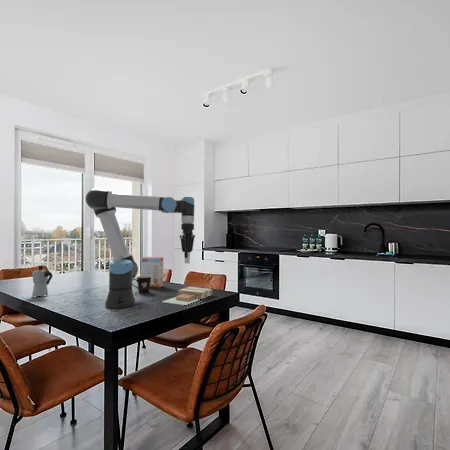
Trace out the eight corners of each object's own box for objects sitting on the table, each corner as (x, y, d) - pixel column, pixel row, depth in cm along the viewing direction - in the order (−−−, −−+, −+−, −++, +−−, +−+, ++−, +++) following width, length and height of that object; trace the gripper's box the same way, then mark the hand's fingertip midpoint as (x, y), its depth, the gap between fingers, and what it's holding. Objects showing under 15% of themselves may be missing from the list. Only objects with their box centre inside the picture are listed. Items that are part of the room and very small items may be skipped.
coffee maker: (25, 296, 177) (25, 265, 177) (38, 293, 185) (39, 264, 186) (44, 298, 173) (45, 267, 173) (57, 295, 181) (58, 265, 181)
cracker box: (163, 286, 214) (163, 257, 214) (159, 287, 208) (159, 257, 209) (145, 285, 218) (146, 256, 218) (141, 286, 212) (141, 257, 212)
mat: (185, 305, 160) (185, 305, 160) (161, 302, 167) (161, 301, 167) (200, 300, 173) (200, 299, 173) (177, 297, 180) (177, 296, 180)
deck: (200, 299, 174) (200, 292, 174) (177, 296, 181) (177, 290, 181) (212, 295, 186) (212, 288, 186) (190, 292, 193) (190, 286, 193)
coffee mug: (152, 291, 197) (152, 275, 197) (148, 294, 188) (148, 277, 188) (135, 290, 198) (135, 275, 198) (130, 293, 189) (130, 277, 189)
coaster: (187, 301, 168) (187, 297, 168) (175, 299, 172) (175, 296, 172) (195, 298, 175) (195, 295, 175) (183, 297, 179) (183, 293, 179)
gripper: (186, 222, 170) (186, 264, 170) (199, 223, 182) (198, 262, 181) (175, 222, 173) (175, 263, 173) (188, 223, 185) (188, 261, 185)
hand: (187, 263), depth 177 cm, fingers closed
